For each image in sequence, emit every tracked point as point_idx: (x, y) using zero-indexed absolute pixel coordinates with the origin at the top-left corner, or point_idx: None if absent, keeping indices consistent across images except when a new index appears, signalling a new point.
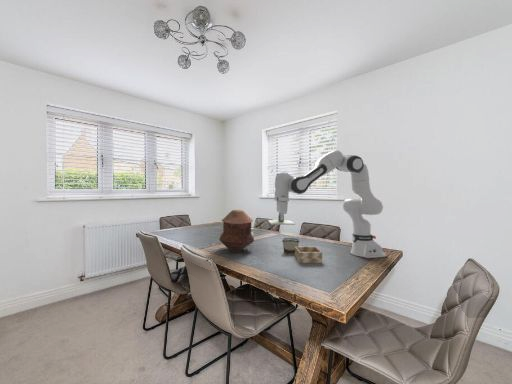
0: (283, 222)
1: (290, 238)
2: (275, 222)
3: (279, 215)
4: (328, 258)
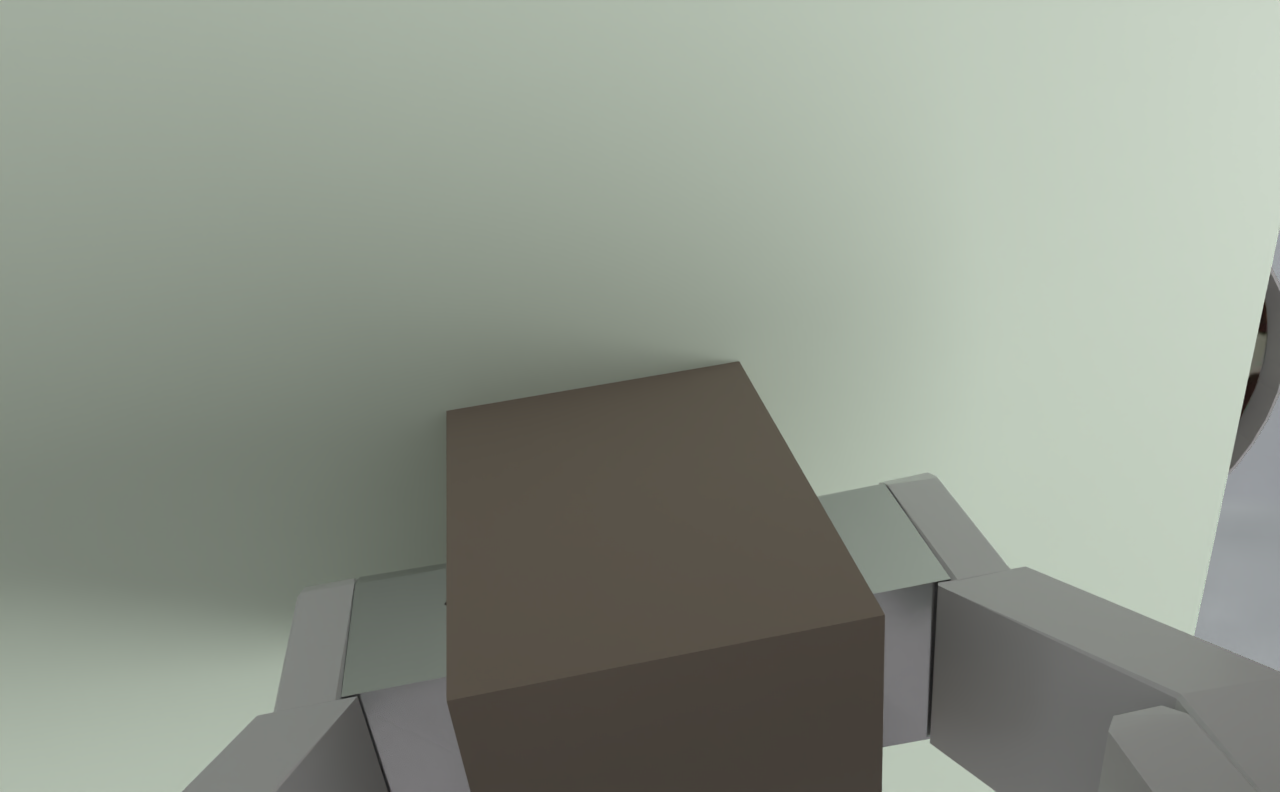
0: (284, 639)
1: (1267, 388)
2: (80, 199)
3: (570, 712)
4: None
